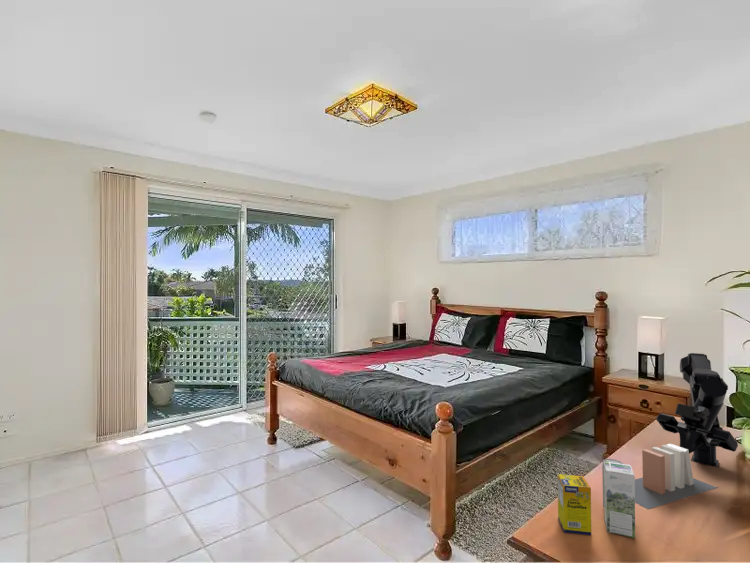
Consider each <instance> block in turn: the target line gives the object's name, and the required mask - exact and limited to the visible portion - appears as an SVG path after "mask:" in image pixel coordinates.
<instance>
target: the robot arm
mask: <svg viewBox="0 0 750 563" xmlns="http://www.w3.org/2000/svg"><path fill="white" fill-rule="evenodd" d="M711 364H712V363H711V360H710V359H709V358H708V356H707V354H705V353H698V352H697V353H696V352H695V353H694V352H691V353H688V354H687V356H683V357H682V358H680V360H679V372H680V373H681V374H682V378H683V380H684V381H685V382H686V383H688V384H689V389H690V396H691V403H692V405H686V404H683V403H677V404H676V408H675V412H674V415H678V416H680V420H681V421H678V420H677V419H676V417H675V416H673V415H670V414H666V413H663V412H661V413H659V414H657V417H656V418H655V420H656V421H657V423H658V424H659V425H660V427H661V428H662V429H663V430H664V431H666V432H668V433H672V434H677V433H678V434H679V447H682V448H685V449H688V450H689V455H690V454H693V455H692V456H691V458H690V462H693V463H696V464H697V463H698V464H701V465H705V466H710V467H716V468H717V467H719V463H720V462H719V461H720V460H719V459H717V447H719V448H722V449H724V450H726V451H727V450H728V451H731V452H736V451H737V448H738V446H739V444H738V443H739V442H737V440H736V439H735V437H734V436H733V434H732V433H731V432H730V431H728V430H725V429H723V427H721V424H720V420H719V417H718V415H719V414H720V412H721V409H722V407H723V405H724V402H725V401H724V400H725V398H726V395H727V392H728V390H729V386H728V384H727V383H726V382H725V380H724V379H723V378H722V377H721V376H720V374H719V373H718V372H717V371H715V370H712V365H711Z"/></svg>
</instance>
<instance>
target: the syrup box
mask: <svg viewBox="0 0 750 563" xmlns="http://www.w3.org/2000/svg"><path fill="white" fill-rule="evenodd" d="M635 479H636V476H635V473H634V470H633V468H632V465H630V464H624V463H623V464H620V463H613V462H606V461H604V507H603V509H604V513H603V514H604V518H603V519H604V523H605V529H606V533H610V534H614V535H619V536H624V537H627V538H632V539H633V538H634V539H635V538H636V503H635Z"/></svg>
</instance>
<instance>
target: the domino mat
mask: <svg viewBox="0 0 750 563" xmlns="http://www.w3.org/2000/svg"><path fill="white" fill-rule="evenodd" d="M693 482H694V484H692V485H691V486H689V485H687V484H685V488H681V489H680V488H678V487H676V486H675V491H669V490H667V489H665V494H659V493H657V492H655V491H653V490H650V489H648V488H646V487H644V486H643V476H642V477H639V478H635V504H637V505H638V506H640V507H642V508H645V509H646V510H651V509H654V508H658V507H659V506H663V505H666V504H670V503H672V502H676V501H680V500H682V499H683V500H684V499H686V498H688V497H689V498H690V497H692V496H693V497H694V496H696V495H699V494H701V493H705V492H708V491H711V490H715V489H718V487H717V486H714V485H712V484H709V483H707V482H705V481H702V480H700V479H696V478H694V477H693Z"/></svg>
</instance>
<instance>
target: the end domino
mask: <svg viewBox="0 0 750 563" xmlns="http://www.w3.org/2000/svg"><path fill="white" fill-rule="evenodd" d="M641 453H642V454H641V455H642V458H641V459H642V462H641V463H642V477H643V486H644V487H646V488H648V489H650V490H653V491H655V492H657V493H659V494H665V456H664V455H661V454H658V453H656V452H653V451H652V450H650V449H646V448H644V449H642V452H641Z"/></svg>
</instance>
